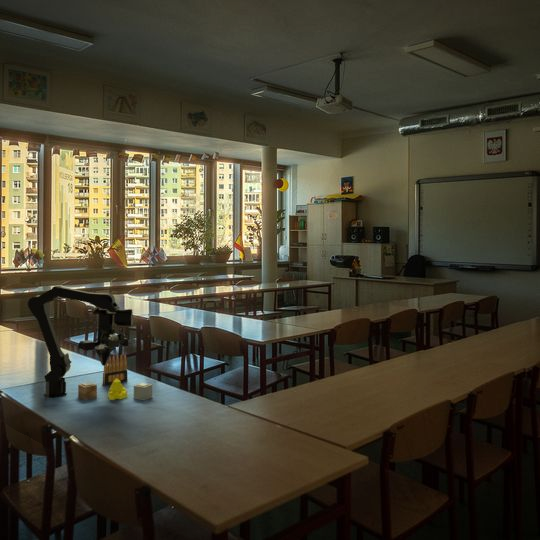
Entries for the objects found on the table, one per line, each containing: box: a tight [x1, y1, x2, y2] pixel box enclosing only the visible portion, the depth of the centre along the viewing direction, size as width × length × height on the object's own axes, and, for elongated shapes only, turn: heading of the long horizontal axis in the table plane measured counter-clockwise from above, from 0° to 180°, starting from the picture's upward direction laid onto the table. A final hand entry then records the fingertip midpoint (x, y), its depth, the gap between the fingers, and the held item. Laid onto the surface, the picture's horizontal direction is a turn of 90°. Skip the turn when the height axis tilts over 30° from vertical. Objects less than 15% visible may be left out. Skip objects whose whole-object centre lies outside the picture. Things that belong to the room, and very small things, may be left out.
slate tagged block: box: [133, 382, 153, 401], centre depth 203 cm, size 5×5×5 cm
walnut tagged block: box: [77, 382, 98, 401], centre depth 202 cm, size 5×5×5 cm
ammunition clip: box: [101, 353, 128, 387], centre depth 222 cm, size 11×2×12 cm, turn 135°
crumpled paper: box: [107, 378, 128, 401], centre depth 203 cm, size 6×8×8 cm
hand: (103, 365), depth 205 cm, fingers closed
